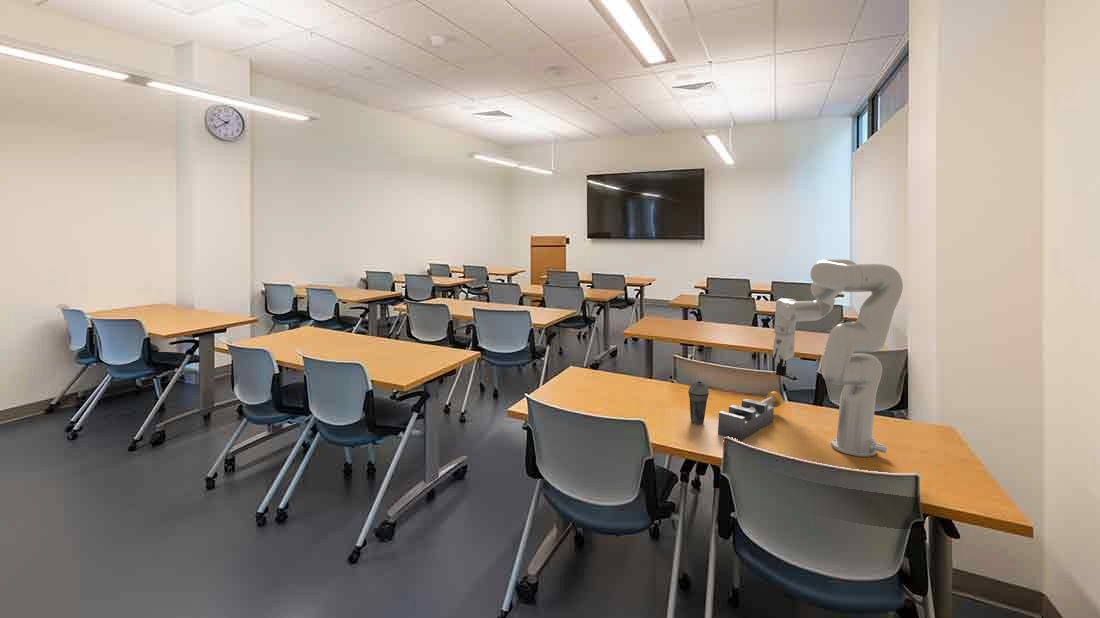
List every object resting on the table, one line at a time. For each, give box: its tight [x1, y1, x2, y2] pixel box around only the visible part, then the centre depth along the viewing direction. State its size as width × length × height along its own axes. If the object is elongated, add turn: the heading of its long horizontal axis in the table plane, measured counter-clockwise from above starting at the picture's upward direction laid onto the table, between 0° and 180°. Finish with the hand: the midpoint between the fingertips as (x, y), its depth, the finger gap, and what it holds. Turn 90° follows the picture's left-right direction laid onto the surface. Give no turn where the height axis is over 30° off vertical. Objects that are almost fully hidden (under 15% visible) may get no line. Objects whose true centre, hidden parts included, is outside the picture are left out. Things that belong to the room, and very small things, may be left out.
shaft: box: [742, 391, 784, 417], centre depth 185 cm, size 6×25×6 cm, turn 134°
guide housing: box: [717, 398, 775, 442], centre depth 177 cm, size 8×26×8 cm, turn 134°
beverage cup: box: [688, 370, 710, 426], centre depth 181 cm, size 7×7×20 cm
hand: (780, 374), depth 196 cm, fingers closed
